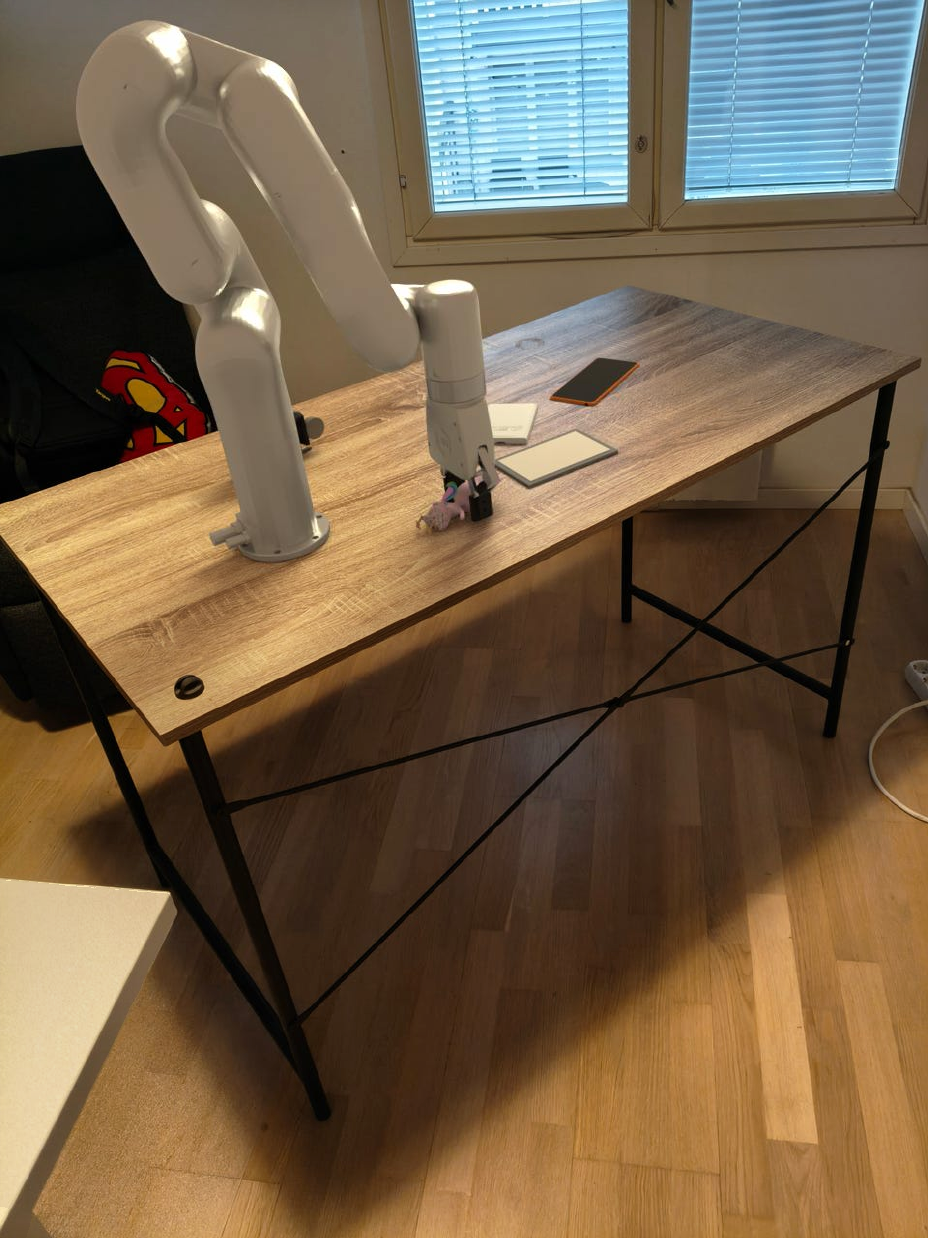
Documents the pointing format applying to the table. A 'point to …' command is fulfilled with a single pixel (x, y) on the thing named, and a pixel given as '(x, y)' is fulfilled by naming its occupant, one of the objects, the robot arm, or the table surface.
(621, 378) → the smartphone
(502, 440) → the external hard drive
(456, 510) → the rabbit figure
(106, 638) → the table surface
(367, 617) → the table surface
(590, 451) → the mat
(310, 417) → the figurine character
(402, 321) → the robot arm
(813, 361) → the table surface
